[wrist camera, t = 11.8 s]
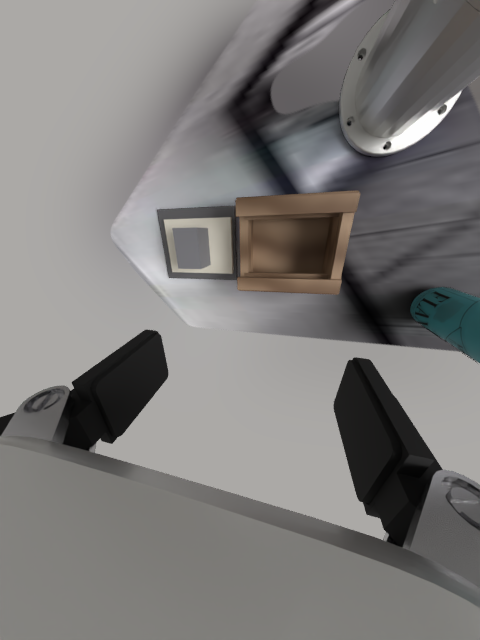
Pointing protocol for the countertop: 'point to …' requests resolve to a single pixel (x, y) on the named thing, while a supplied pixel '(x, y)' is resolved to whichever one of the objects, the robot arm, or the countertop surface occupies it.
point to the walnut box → (294, 241)
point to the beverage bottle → (450, 317)
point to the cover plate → (215, 243)
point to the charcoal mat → (190, 214)
